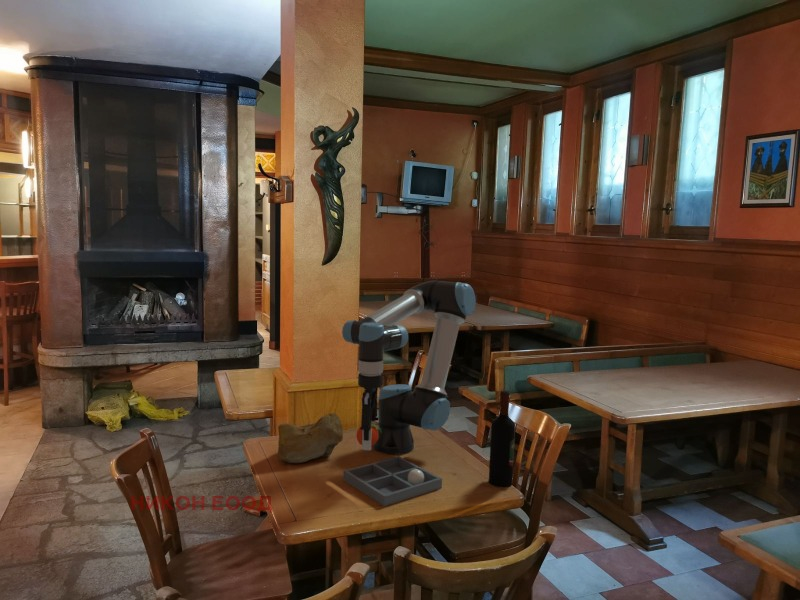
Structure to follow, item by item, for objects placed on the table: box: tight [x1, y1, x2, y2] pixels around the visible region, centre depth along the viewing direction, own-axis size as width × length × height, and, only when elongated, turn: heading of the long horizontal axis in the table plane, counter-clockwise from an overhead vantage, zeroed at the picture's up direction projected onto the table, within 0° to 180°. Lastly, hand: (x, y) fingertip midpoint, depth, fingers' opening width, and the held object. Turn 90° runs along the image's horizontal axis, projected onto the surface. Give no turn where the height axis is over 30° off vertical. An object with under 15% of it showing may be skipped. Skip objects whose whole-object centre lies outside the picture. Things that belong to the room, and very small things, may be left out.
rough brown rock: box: [277, 412, 344, 464], centre depth 211 cm, size 23×17×15 cm
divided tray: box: [342, 455, 443, 507], centre depth 187 cm, size 22×22×4 cm
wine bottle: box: [488, 390, 516, 488], centre depth 191 cm, size 8×8×30 cm
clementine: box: [356, 425, 380, 447], centre depth 186 cm, size 8×7×7 cm
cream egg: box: [408, 469, 424, 485], centre depth 186 cm, size 5×5×5 cm
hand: (368, 445), depth 186 cm, fingers closed on clementine, 7 cm apart
